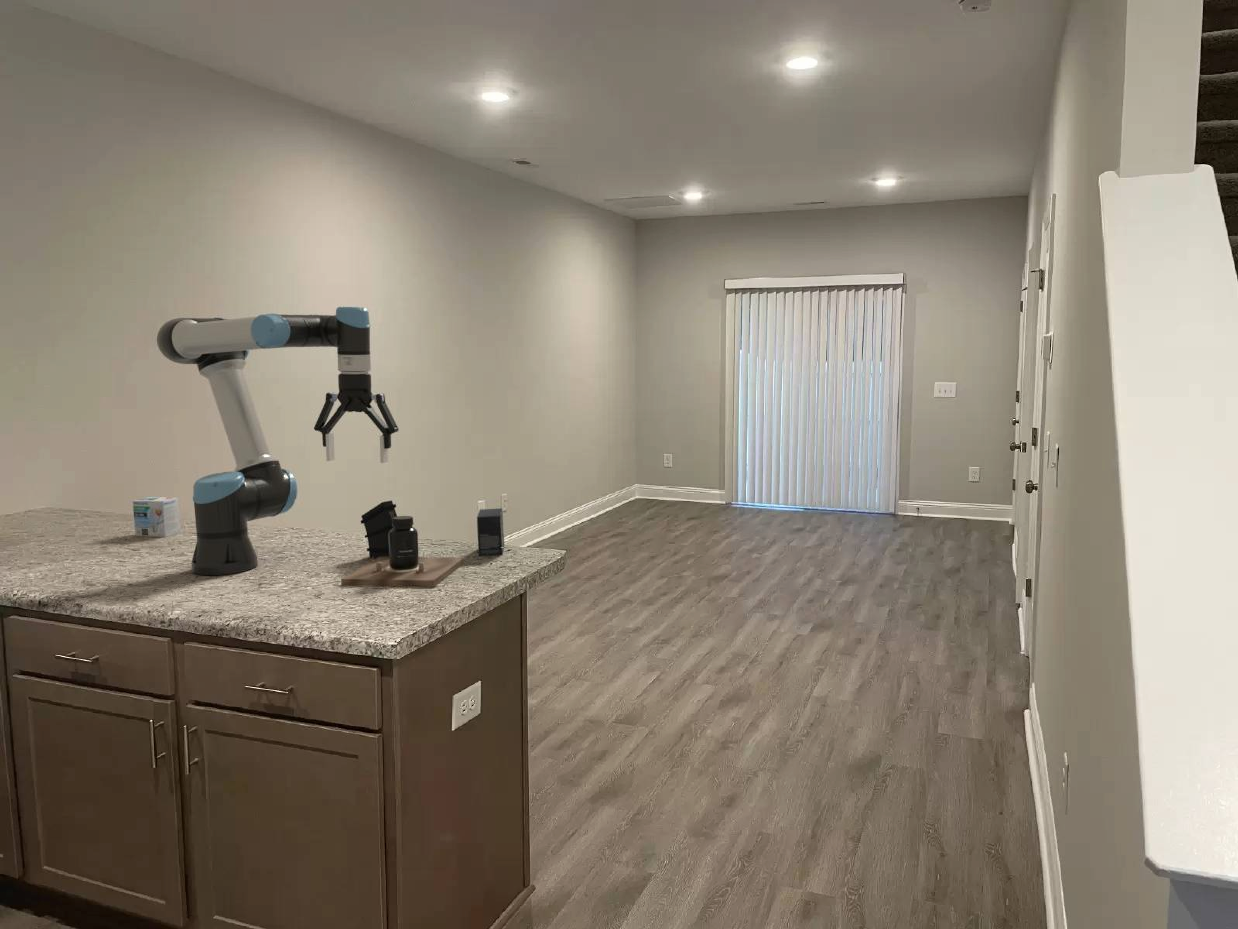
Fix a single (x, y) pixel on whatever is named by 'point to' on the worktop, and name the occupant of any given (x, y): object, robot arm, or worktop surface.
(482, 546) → the small box
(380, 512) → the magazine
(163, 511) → the light bulb box
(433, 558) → the board
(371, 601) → the worktop surface
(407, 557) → the supplement bottle
